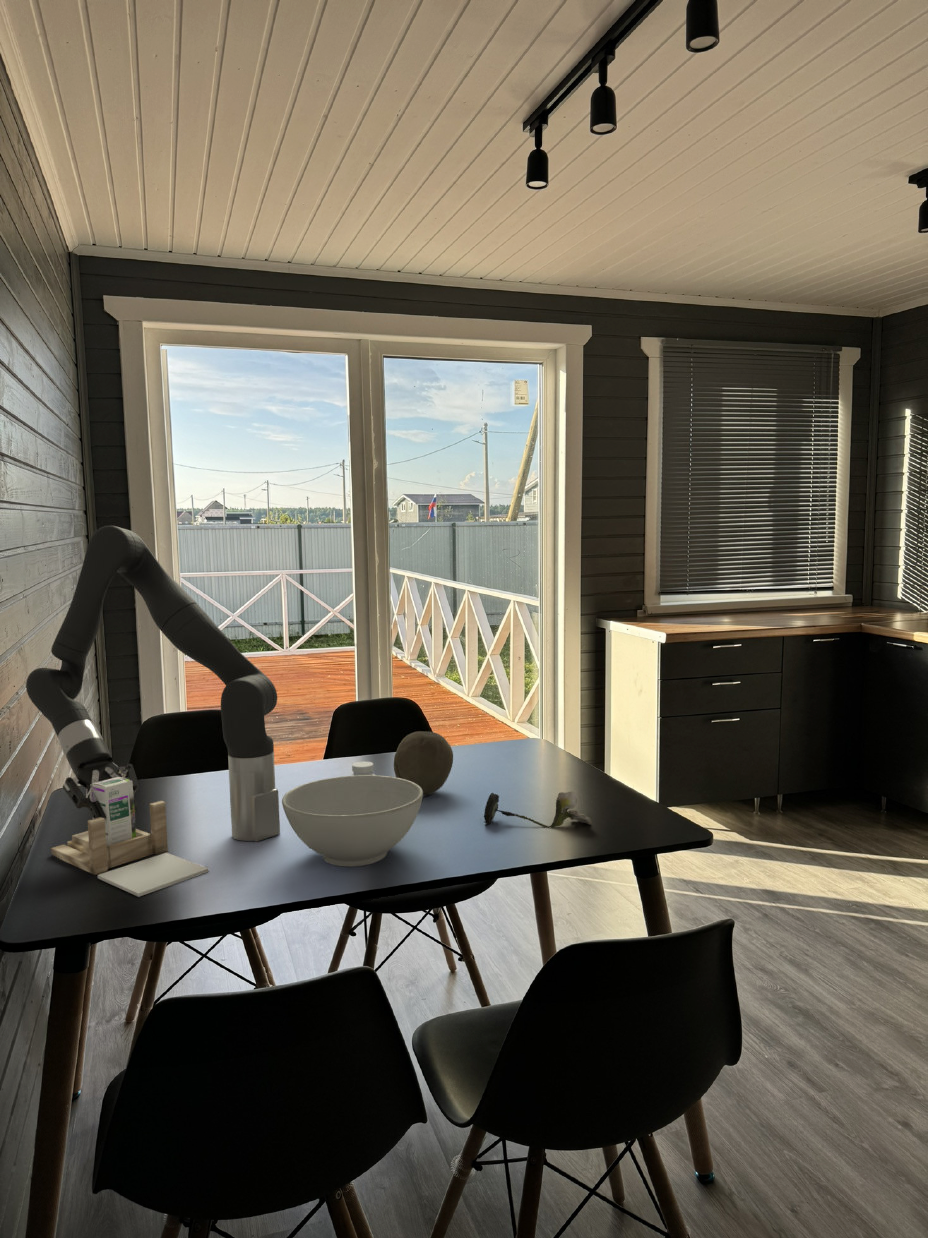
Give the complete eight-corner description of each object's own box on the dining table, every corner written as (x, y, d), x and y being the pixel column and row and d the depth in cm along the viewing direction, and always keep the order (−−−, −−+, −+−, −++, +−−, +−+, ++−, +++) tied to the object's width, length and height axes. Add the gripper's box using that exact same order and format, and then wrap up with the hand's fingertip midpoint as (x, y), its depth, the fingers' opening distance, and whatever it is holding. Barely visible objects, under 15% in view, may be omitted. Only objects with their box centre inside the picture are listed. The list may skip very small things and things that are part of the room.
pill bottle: (343, 818, 187) (341, 766, 186) (360, 809, 193) (358, 759, 192) (368, 822, 184) (366, 769, 183) (384, 813, 190) (383, 762, 189)
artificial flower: (490, 822, 187) (498, 776, 188) (592, 842, 180) (599, 795, 181) (479, 823, 178) (487, 776, 180) (585, 845, 171) (593, 795, 173)
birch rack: (167, 851, 169) (165, 802, 168) (94, 875, 157) (91, 822, 156) (123, 834, 179) (120, 788, 179) (51, 855, 168) (48, 806, 167)
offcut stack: (127, 845, 173) (126, 830, 172) (84, 858, 166) (83, 843, 166) (109, 838, 177) (108, 824, 177) (66, 851, 170) (65, 836, 170)
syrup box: (110, 861, 163) (106, 786, 161) (94, 854, 166) (89, 782, 165) (137, 852, 167) (133, 779, 166) (121, 846, 171) (117, 775, 169)
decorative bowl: (257, 857, 165) (254, 795, 164) (367, 823, 183) (365, 768, 182) (340, 895, 146) (337, 826, 144) (453, 853, 164) (451, 792, 163)
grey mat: (208, 871, 158) (208, 868, 157) (138, 897, 147) (138, 893, 147) (166, 855, 166) (166, 852, 166) (97, 878, 156) (97, 875, 155)
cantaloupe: (448, 803, 196) (446, 739, 194) (388, 802, 198) (386, 738, 197) (458, 786, 210) (456, 726, 208) (402, 785, 212) (400, 725, 211)
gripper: (54, 743, 164) (88, 815, 157) (124, 730, 175) (159, 796, 169) (43, 766, 168) (76, 837, 161) (112, 751, 179) (146, 817, 172)
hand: (118, 816), depth 165 cm, fingers closed on syrup box, 5 cm apart
